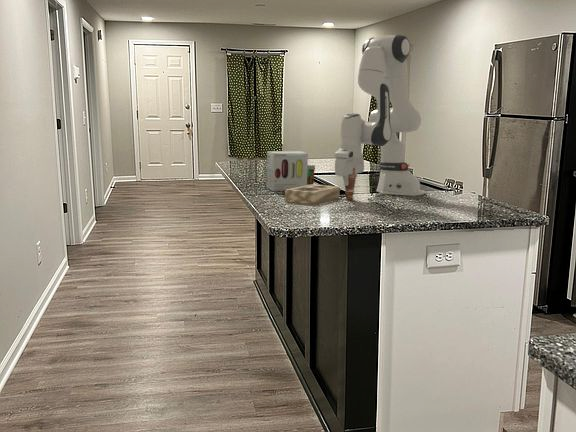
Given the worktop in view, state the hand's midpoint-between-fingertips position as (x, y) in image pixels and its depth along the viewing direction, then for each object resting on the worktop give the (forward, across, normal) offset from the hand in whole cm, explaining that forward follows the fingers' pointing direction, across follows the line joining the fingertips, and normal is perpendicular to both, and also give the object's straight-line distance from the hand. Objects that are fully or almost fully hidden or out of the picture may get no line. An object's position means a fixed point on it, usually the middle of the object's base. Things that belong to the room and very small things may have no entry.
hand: (349, 184), depth 252 cm
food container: (+7, -33, -44) cm, 55 cm away
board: (+7, +9, -13) cm, 17 cm away
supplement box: (+7, -11, -40) cm, 42 cm away
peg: (+7, 0, 0) cm, 7 cm away
